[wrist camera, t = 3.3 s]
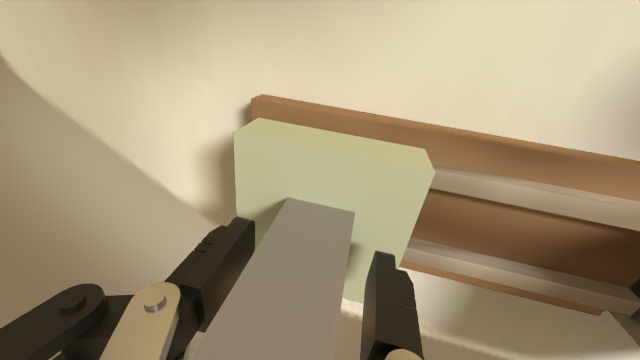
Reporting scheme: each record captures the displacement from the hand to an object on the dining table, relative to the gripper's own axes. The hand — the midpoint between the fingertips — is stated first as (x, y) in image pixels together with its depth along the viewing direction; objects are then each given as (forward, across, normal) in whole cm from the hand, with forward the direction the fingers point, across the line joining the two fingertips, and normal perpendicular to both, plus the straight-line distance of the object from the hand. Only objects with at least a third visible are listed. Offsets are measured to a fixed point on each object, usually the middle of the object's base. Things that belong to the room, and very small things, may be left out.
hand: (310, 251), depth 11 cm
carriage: (+4, 0, 0) cm, 4 cm away
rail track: (+7, -6, 0) cm, 9 cm away
